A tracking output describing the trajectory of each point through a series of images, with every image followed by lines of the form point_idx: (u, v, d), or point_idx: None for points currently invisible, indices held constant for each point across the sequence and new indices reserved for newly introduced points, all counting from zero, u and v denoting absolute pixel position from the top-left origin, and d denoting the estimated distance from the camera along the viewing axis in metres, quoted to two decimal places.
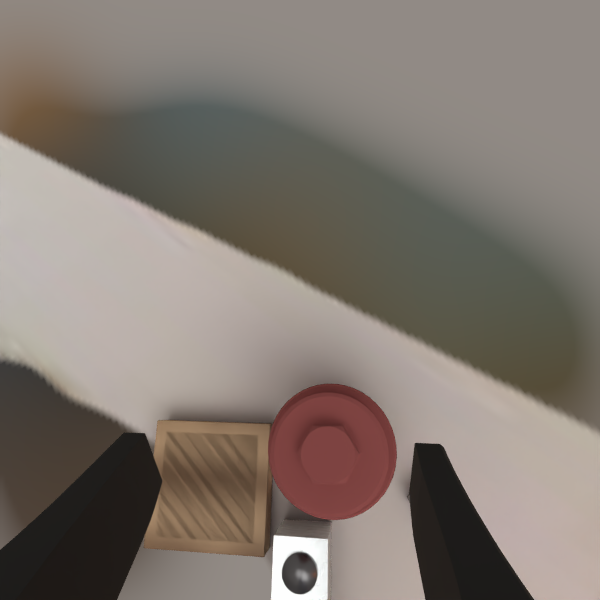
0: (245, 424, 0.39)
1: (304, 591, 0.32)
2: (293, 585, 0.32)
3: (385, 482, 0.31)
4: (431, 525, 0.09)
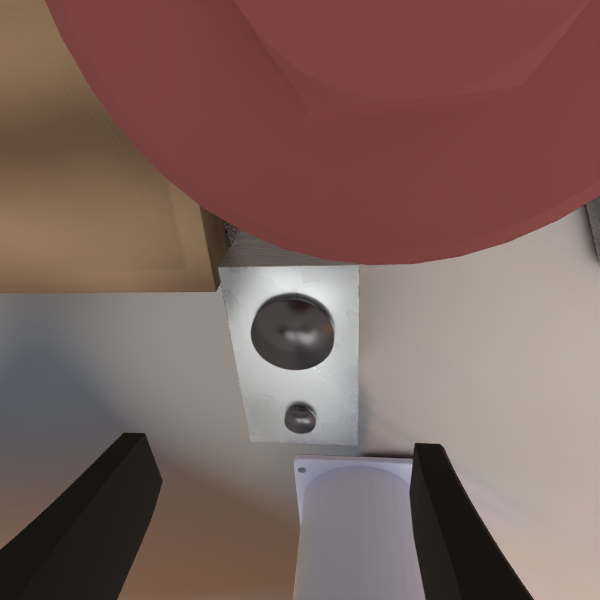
0: None
1: (307, 365, 0.14)
2: (281, 357, 0.14)
3: None
4: (431, 525, 0.09)
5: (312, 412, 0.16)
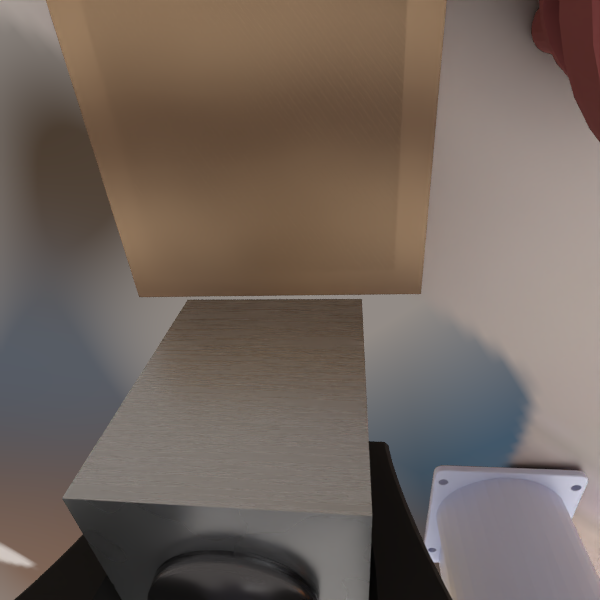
0: None
1: None
2: None
3: None
4: None
5: None
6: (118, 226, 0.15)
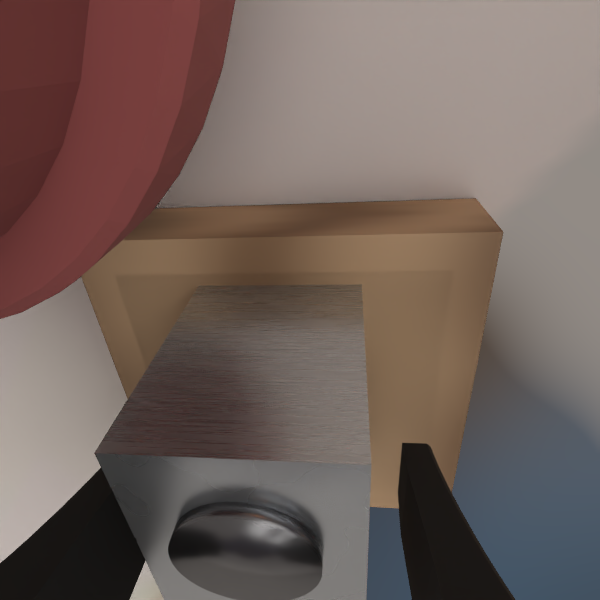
0: (98, 314, 0.12)
1: (274, 599, 0.08)
2: (228, 585, 0.08)
3: None
4: (416, 524, 0.09)
5: None
6: None
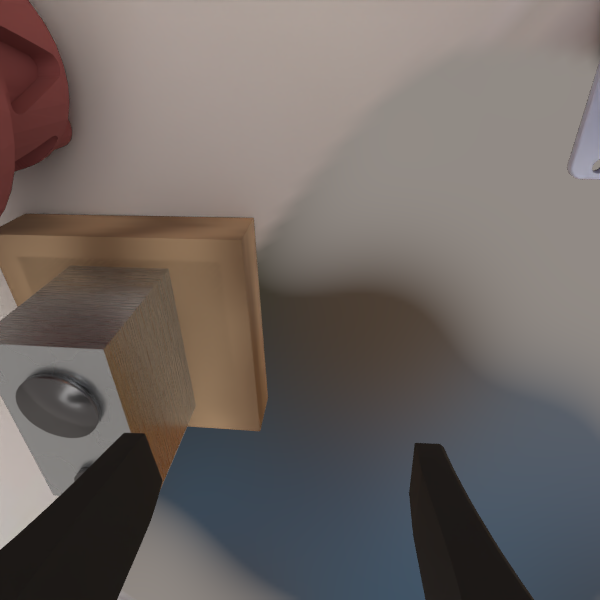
0: (9, 282, 0.19)
1: (78, 434, 0.15)
2: (52, 425, 0.15)
3: None
4: (431, 525, 0.09)
5: None
6: (205, 426, 0.23)
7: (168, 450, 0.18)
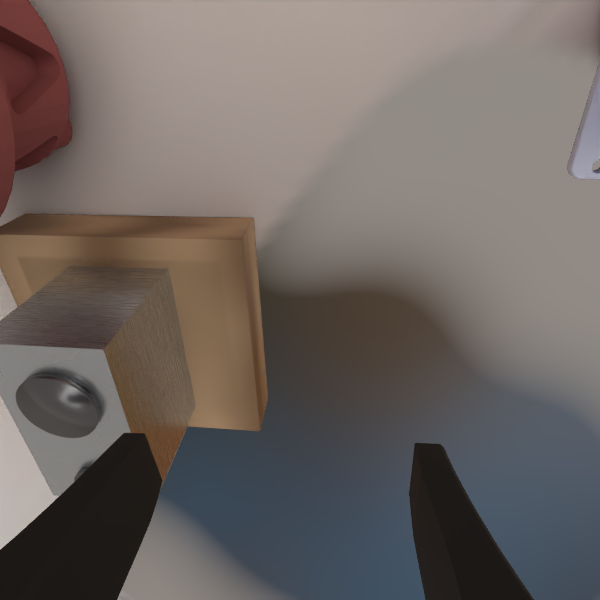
0: (9, 282, 0.19)
1: (78, 434, 0.15)
2: (52, 425, 0.15)
3: None
4: (431, 525, 0.09)
5: None
6: (205, 426, 0.23)
7: (168, 450, 0.18)
